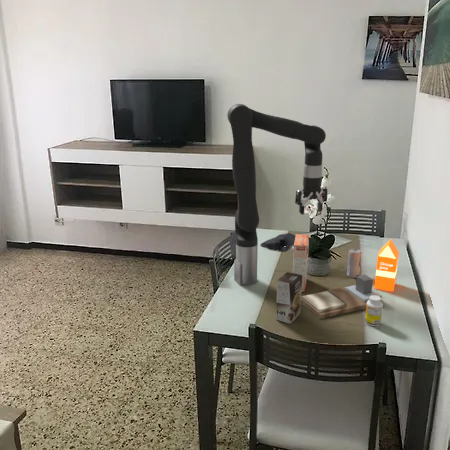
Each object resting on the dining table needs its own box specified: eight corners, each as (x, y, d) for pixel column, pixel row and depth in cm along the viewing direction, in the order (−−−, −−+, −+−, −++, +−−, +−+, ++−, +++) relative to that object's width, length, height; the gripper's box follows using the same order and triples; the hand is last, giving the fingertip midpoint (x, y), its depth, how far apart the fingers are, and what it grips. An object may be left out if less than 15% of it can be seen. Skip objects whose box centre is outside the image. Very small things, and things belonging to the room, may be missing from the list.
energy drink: (359, 274, 213) (361, 249, 210) (358, 278, 209) (360, 253, 205) (347, 272, 215) (349, 247, 211) (346, 277, 210) (348, 252, 206)
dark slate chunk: (303, 241, 256) (303, 232, 254) (283, 253, 239) (283, 244, 237) (278, 235, 264) (278, 227, 263) (257, 247, 247) (257, 238, 246)
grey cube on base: (363, 301, 184) (365, 285, 182) (345, 289, 195) (346, 273, 193) (381, 297, 187) (383, 281, 185) (362, 285, 198) (363, 270, 196)
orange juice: (395, 283, 204) (400, 239, 198) (393, 291, 196) (398, 246, 190) (376, 280, 207) (381, 237, 201) (373, 288, 199) (378, 243, 193)
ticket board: (320, 318, 175) (320, 312, 175) (297, 300, 189) (298, 294, 189) (368, 307, 183) (368, 301, 183) (343, 290, 197) (343, 284, 197)
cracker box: (305, 292, 196) (308, 245, 189) (291, 291, 197) (293, 244, 190) (307, 278, 209) (309, 234, 202) (293, 277, 210) (295, 233, 203)
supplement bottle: (368, 317, 176) (371, 292, 173) (383, 322, 173) (385, 297, 170) (362, 323, 172) (364, 298, 169) (376, 328, 169) (379, 302, 165)
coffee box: (291, 324, 172) (292, 284, 167) (275, 319, 175) (276, 280, 170) (301, 313, 179) (303, 274, 174) (285, 309, 182) (287, 271, 177)
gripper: (322, 172, 201) (320, 208, 206) (293, 175, 196) (291, 212, 201) (332, 175, 195) (330, 213, 200) (302, 178, 189) (300, 217, 194)
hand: (310, 212), depth 200 cm, fingers open, 8 cm apart
